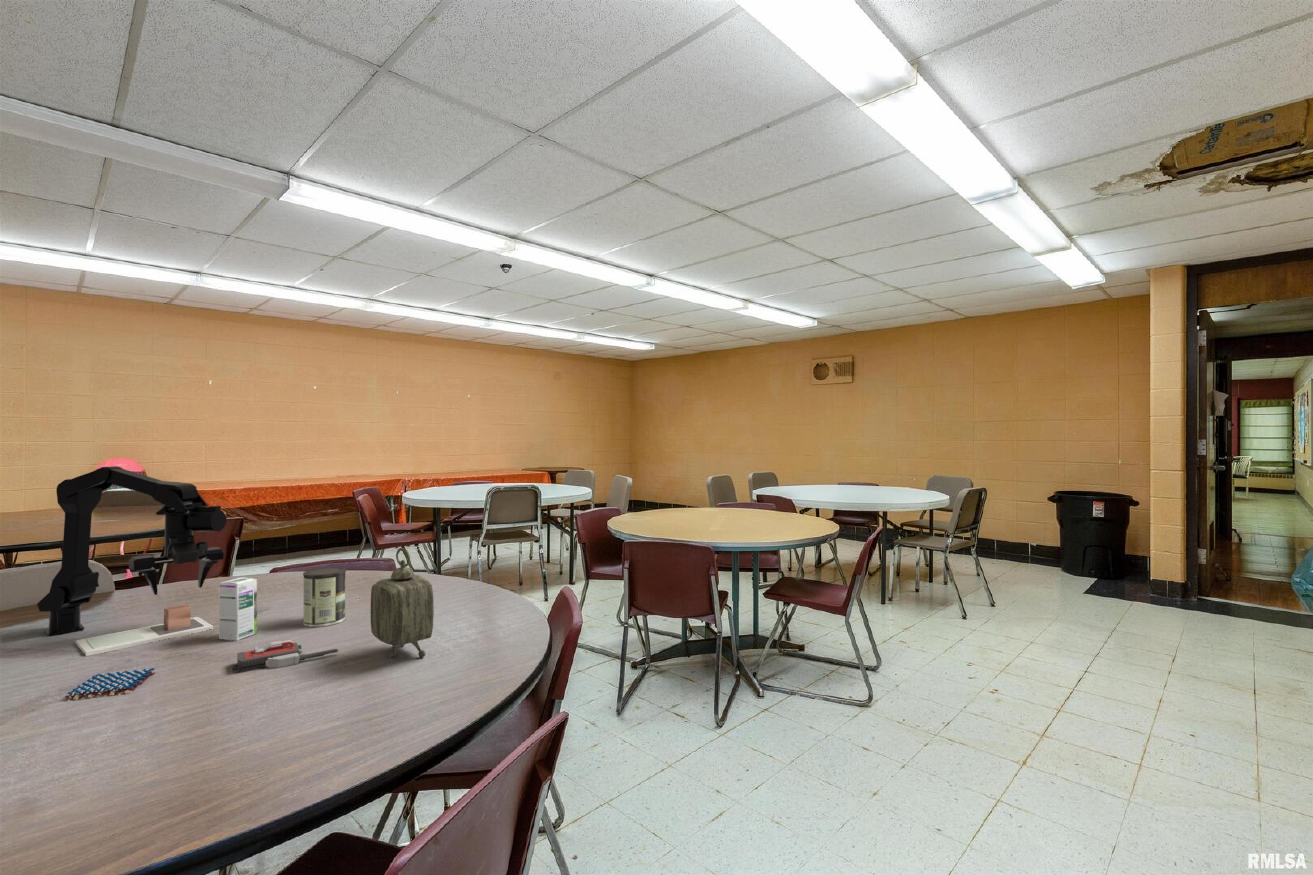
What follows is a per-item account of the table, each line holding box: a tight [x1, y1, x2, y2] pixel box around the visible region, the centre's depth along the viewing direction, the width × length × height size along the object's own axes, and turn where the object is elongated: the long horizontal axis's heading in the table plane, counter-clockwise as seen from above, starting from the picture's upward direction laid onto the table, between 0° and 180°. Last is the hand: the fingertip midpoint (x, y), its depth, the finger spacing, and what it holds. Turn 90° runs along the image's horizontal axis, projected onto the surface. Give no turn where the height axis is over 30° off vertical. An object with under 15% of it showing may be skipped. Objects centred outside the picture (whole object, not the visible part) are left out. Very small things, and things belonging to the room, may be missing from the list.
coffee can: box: [302, 566, 347, 628], centre depth 158 cm, size 10×10×14 cm
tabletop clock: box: [370, 547, 435, 658], centre depth 134 cm, size 14×9×25 cm, turn 47°
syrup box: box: [218, 576, 258, 642], centre depth 145 cm, size 6×6×14 cm
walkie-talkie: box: [231, 639, 339, 673], centre depth 130 cm, size 9×4×20 cm
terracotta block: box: [163, 603, 192, 630], centre depth 150 cm, size 4×4×5 cm
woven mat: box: [64, 667, 156, 702], centre depth 116 cm, size 10×11×2 cm
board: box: [75, 616, 214, 657], centre depth 145 cm, size 13×24×1 cm, turn 143°
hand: (178, 590), depth 150 cm, fingers open, 9 cm apart
